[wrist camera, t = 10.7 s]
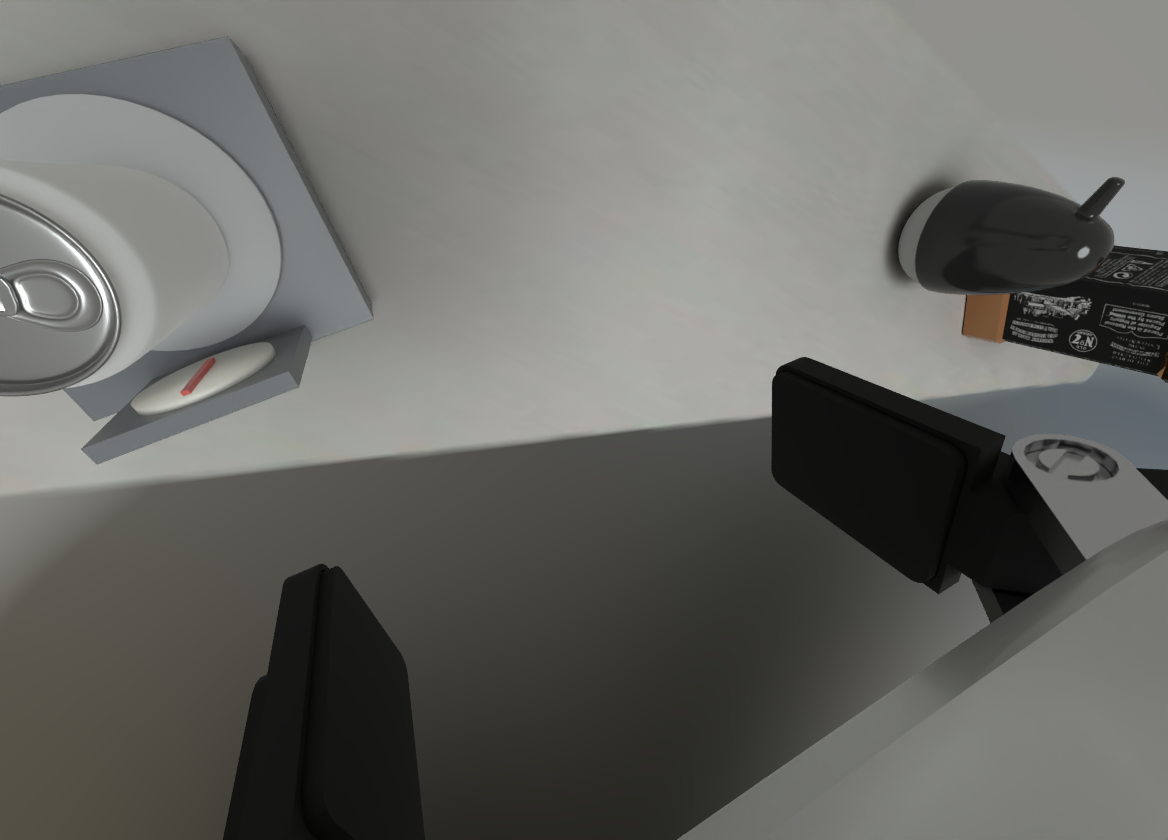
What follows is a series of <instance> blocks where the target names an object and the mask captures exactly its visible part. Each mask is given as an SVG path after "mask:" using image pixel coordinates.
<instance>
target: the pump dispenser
mask: <svg viewBox="0 0 1168 840" xmlns="http://www.w3.org/2000/svg"><path fill="white" fill-rule="evenodd" d="M1124 184H1125V181H1124V180H1123V179H1121V178H1118V177H1112V178H1109V179H1108V180H1107V181H1106V182H1105V183H1104V184H1103V185H1102V186H1101V187H1100V188H1099V189H1098V190H1097V191H1096V192H1095V193H1094V194H1093V195H1092V196H1091V197H1090V198H1089V199H1088V200H1087V201H1086V202H1085V203H1084V204H1083V205H1080V204H1078V203H1076V202H1074V201H1072V200H1070V199H1067V198H1065V197H1062V196H1060V195H1057V194H1054V193H1051V192H1048V191H1044V190H1041V189H1037V188H1033V187H1029V186H1024V185H1019V184H1013V183H1006V182H999V181H990V180H971V181H966V182H964V183H961V184H959V185H958V186H954V187H950V188H947V189H945V190H942V191H940V192H938V193H936V194H934V195H932V196H931V197H929V198H928V199H926V200H925V201H924V202H923V203H922V204H920V205H919V206H918V207H917V208H916V210H915V211H914V212H913V213H912V215H911V216H910V217H909V219H908V221H907V222H906V224H905V226H904V228H903V231H902V233H901V237H900V241H899V249H898V254H899V260H900V263H901V266H902V268H903V270H904V271H905V273H906V274H907V275H908V276H909V277H910V278H911V279H913V280H914V281H916V282H918V283H919V284H921V285H922V286H923V287H924V288H925V289H927V290H929V291H933V292H938V293H945V294H958V295H1003V294H1014V293H1022V292H1030V291H1036V290H1042V289H1048V288H1053V287H1057V286H1061V285H1065V284H1068V283H1072V282H1075V281H1078V280H1080V279H1083V278H1085V277H1087V276H1088V275H1090V274H1092V273H1093V272H1094V271H1096V270H1097V269H1098V268H1099V267H1101V266H1102V265H1103V264H1104V262H1105V261H1106V260H1107V259H1108V257H1109V256H1110V254H1111V252H1112V249H1113V246H1114V233H1113V230H1112V228H1111V227H1110V225H1109V224H1108V223H1107V222H1106V221H1105V220H1104V219H1102V218H1101V217H1100V216H1099V215H1100V214H1101V212H1102V211H1103V210H1104V209H1105V207H1106V206H1107V205H1108V204H1109V202H1110V201H1111V200H1112V199H1113V198H1114V196H1115V195H1116V194H1117V193H1118V191H1119V190H1120V189H1121V188H1122V186H1123V185H1124Z"/></svg>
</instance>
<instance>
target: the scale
mask: <svg viewBox="0 0 1168 840" xmlns="http://www.w3.org/2000/svg"><path fill="white" fill-rule="evenodd" d="M0 160H8V161H30V162H51V163H70V164H88V165H105V166H117V167H125V168H131V169H136V170H140V171H144V172H147V173H150V174H153V175H156V176H158V177H160V178H163V179H165V180H167V181H169V182H171V183H173V184H174V185H176V186H178V187H179V188H181V189H182V190H184V191H185V192H187V193H188V194H189V195H191V196H192V197H193V198H194V199H196V200H197V201H198V202H199V203H200V204H201V205H202V206H203V207H204V208H205V209H206V210H207V212H208V213H209V214H210V215H211V217H212V218H213V219H214V221H215V222H216V224H217V226H218V228H219V230H220V232H221V234H222V236H223V238H224V241H225V244H226V247H227V251H228V257H229V269H228V273H227V276H226V279H225V281H224V283H223V285H222V287H221V289H220V290H219V291H218V293H217V294H216V295H215V296H214V297H213V298H212V299H211V300H210V301H209V302H208V303H207V304H206V305H204V306H203V307H202V308H201V309H200V310H199V311H197V312H196V313H195V314H194V315H193V316H191V317H190V318H189V319H188V320H187V321H185V322H184V323H183V324H182V325H181V326H179V327H178V328H177V329H176V330H174V331H173V332H172V333H171V334H170V335H168V336H167V337H166V338H165V339H163V340H162V341H161V342H160V343H158V344H157V345H156V346H155V347H154V348H152V349H151V350H150V351H149V352H147V353H146V354H145V355H143V356H142V357H141V358H140V359H138V360H137V361H136V362H134V363H133V364H131V365H130V366H128V367H127V368H125V369H124V370H122V371H120V372H118V373H116V374H114V375H112V376H110V377H108V378H106V379H103V380H100V381H98V382H94V383H91V384H87V385H83V386H78V387H72V388H64V389H63V390H64V391H65V392H66V393H67V394H68V395H69V396H70V397H71V398H72V399H73V400H74V401H75V402H76V403H77V404H78V405H79V406H80V407H81V408H82V409H83V411H84V412H85V413H86V414H87V415H88V416H89V417H90V418H91V419H92V420H93V421H96V420H99V419H101V418H104V417H107V416H110V415H112V414H115V413H117V414H116V415H115V416H114V417H113V418H112V419H111V420H110V421H109V422H108V423H107V424H106V425H105V426H104V427H103V428H102V429H101V430H100V431H99V432H98V433H97V434H96V435H95V436H94V437H93V438H92V439H91V440H90V441H89V442H88V443H87V444H86V445H85V446H84V447H83V448H82V449H81V450H82V451H83V452H84V453H85V454H86V455H88V456H89V457H90V458H91V459H92V460H93V461H94V462H95V463H96V464H100V463H103V462H105V461H108V460H110V459H113V458H116V457H118V456H121V455H123V454H126V453H129V452H131V451H134V450H136V449H139V448H142V447H144V446H147V445H149V444H152V443H155V442H157V441H160V440H162V439H165V438H168V437H170V436H173V435H175V434H178V433H181V432H183V431H186V430H188V429H191V428H194V427H196V426H199V425H201V424H204V423H207V422H209V421H212V420H214V419H217V418H220V417H222V416H225V415H227V414H230V413H233V412H235V411H238V410H240V409H243V408H246V407H248V406H251V405H253V404H256V403H259V402H261V401H264V400H266V399H269V398H272V397H274V396H277V395H279V394H282V393H285V392H287V391H290V390H292V389H295V388H298V387H299V385H300V381H301V378H302V374H303V370H304V367H305V363H306V359H307V356H308V352H309V348H310V345H311V342H312V341H315V340H317V339H320V338H323V337H325V336H328V335H331V334H334V333H336V332H339V331H342V330H345V329H347V328H350V327H353V326H356V325H358V324H361V323H364V322H366V321H369V320H372V319H374V318H373V310H372V304H371V302H370V300H369V298H368V296H367V294H366V292H365V290H364V288H363V286H362V284H361V282H360V280H359V278H358V276H357V275H356V273H355V271H354V269H353V267H352V265H351V263H350V261H349V259H348V257H347V255H346V253H345V251H344V249H343V247H342V245H341V243H340V241H339V239H338V237H337V235H336V233H335V231H334V229H333V227H332V225H331V223H330V221H329V219H328V217H327V216H326V214H325V212H324V210H323V208H322V206H321V204H320V202H319V200H318V198H317V196H316V194H315V192H314V190H313V188H312V186H311V184H310V182H309V180H308V178H307V176H306V174H305V172H304V170H303V168H302V166H301V164H300V162H299V160H298V158H297V156H296V155H295V153H294V151H293V149H292V147H291V145H290V143H289V141H288V139H287V137H286V135H285V133H284V131H283V129H282V127H281V125H280V123H279V121H278V119H277V117H276V115H275V113H274V111H273V109H272V107H271V105H270V103H269V101H268V99H267V97H266V96H265V94H264V92H263V90H262V88H261V86H260V84H259V82H258V80H257V78H256V76H255V74H254V72H253V70H252V68H251V66H250V64H249V62H248V60H247V58H246V56H245V55H244V54H243V53H242V51H241V50H240V49H239V48H238V47H237V46H236V45H235V44H234V42H233V41H232V40H231V39H230V38H229V37H223V38H218V39H214V40H209V41H205V42H200V43H195V44H191V45H186V46H182V47H177V48H172V49H168V50H163V51H159V52H154V53H149V54H145V55H140V56H136V57H131V58H126V59H122V60H117V61H113V62H108V63H103V64H99V65H94V66H90V67H85V68H80V69H76V70H71V71H67V72H62V73H57V74H53V75H48V76H44V77H39V78H34V79H30V80H25V81H21V82H16V83H11V84H7V85H2V86H0Z"/></svg>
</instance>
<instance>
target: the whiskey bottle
mask: <svg viewBox="0 0 1168 840" xmlns="http://www.w3.org/2000/svg"><path fill="white" fill-rule="evenodd" d="M963 335H965V336H967V337H971V338H976V339H981V340H985V341H990V342H995V343H1002V342H1005V341H1008V342H1012V343H1016V344H1021V345H1025V346H1029V347H1034V348H1038V349H1043V350H1047V351H1051V352H1056V353H1060V354H1064V355H1069V356H1073V357H1077V358H1082V359H1086V360H1090V361H1095V362H1099V363H1103V364H1108V365H1112V366H1117V367H1121V368H1126V369H1129V370H1134V371H1138V372H1142V373H1147V374H1151V375H1156V376H1159V377H1160V378H1161V379H1162V380H1163V381H1164V382H1165V383H1168V252H1167V251H1158V250H1148V249H1139V248H1130V247H1121V246H1113V249H1112V252H1111V254H1110V256H1109V257H1108V259H1107V260H1106V261H1105V262H1104V264H1103V265H1102V266H1101V267H1099V268H1098V269H1097V270H1096V271H1094V272H1093V273H1092V274H1090V275H1088V276H1087V277H1085V278H1083V279H1080V280H1078V281H1075V282H1072V283H1068V284H1065V285H1061V286H1057V287H1053V288H1048V289H1042V290H1036V291H1030V292H1022V293H1014V294H1003V295H967V303H966V311H965V319H964V327H963Z"/></svg>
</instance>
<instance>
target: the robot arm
mask: <svg viewBox="0 0 1168 840" xmlns="http://www.w3.org/2000/svg"><path fill="white" fill-rule="evenodd" d="M1004 439H1005V435H1002V434H1000V433H997V432H994V431H992V430H990V429H987V428H984V427H982V426H979V425H977V424H974V423H972V422H969V421H967V420H964V419H962V418H959V417H957V416H954V415H952V414H949V413H946V412H944V411H941V410H939V409H936V408H934V407H931V406H929V405H926V404H924V403H921V402H919V401H916V400H914V399H911V398H909V397H906V396H904V395H901V394H899V393H896V392H894V391H891V390H889V389H886V388H884V387H881V386H878V385H876V384H873V383H871V382H868V381H866V380H863V379H861V378H858V377H856V376H853V375H851V374H848V373H846V372H843V371H841V370H838V369H836V368H833V367H831V366H828V365H825V364H823V363H820V362H818V361H815V360H813V359H810V358H807V357H802V358H799V359H796V360H794V361H792V362H789V363H787V364H785V365H782V366H781V367H779V368H778V370H777V371H776V376H775V377H774V378H773V381H772V474H773V477H774V478H775V480H776V482H777V483H778V484H779V485H781V486H782V487H783V488H785V489H786V490H787V491H789V492H790V493H791V494H793V495H794V496H796V497H797V498H799V499H800V500H801V501H803V502H804V503H805V504H807V505H808V506H809V507H811V508H812V509H814V510H815V511H816V512H818V513H819V514H821V515H822V516H823V517H825V518H826V519H828V520H829V521H830V522H832V523H833V524H834V525H836V526H837V527H839V528H840V529H841V530H843V531H844V532H846V533H847V534H848V535H850V536H851V537H852V538H854V539H855V540H856V541H858V542H859V543H861V544H862V545H863V546H865V547H866V548H868V549H869V550H870V551H872V552H873V553H875V554H876V555H877V556H879V557H880V558H881V559H883V560H884V561H885V562H887V563H888V564H890V565H891V566H892V567H894V568H895V569H897V570H898V571H899V572H901V573H902V574H903V575H905V576H906V577H908V578H909V579H911V580H912V581H915V582H918V583H924V584H925V585H926V586H928V587H929V588H931V589H932V590H933V591H935V592H936V593H938V594H940V593H941V592H943V591H944V590H946V589H947V588H949V587H951V586H952V585H953V584H955V583H957V582H958V581H959V578H960V575H961V573H963V574H964V575H966V576H967V577H969V578H970V579H972V583H973V585H974V587H975V590H976V592H977V594H978V596H979V599H980V601H981V603H982V605H983V608H984V610H985V612H986V615H987V617H988V619H989V621H990V624H989V625H988V626H986V627H985V628H983V629H982V630H980V631H979V632H977V633H976V634H975V635H973V636H972V637H970V638H969V639H967V640H966V641H964V642H963V643H961V644H960V645H958V646H957V647H956V648H954V649H952V650H951V651H950V652H948V653H947V654H945V655H944V656H942V657H941V658H939V659H938V660H936V661H935V662H933V663H932V664H931V665H929V666H928V667H926V668H925V669H923V670H922V671H920V672H919V673H918V674H916V675H915V676H913V677H912V678H910V679H909V680H907V681H906V682H904V683H903V684H901V685H900V686H899V687H897V688H896V689H894V690H893V691H891V692H890V693H888V694H887V695H885V696H884V697H882V698H881V699H880V700H878V701H877V702H875V703H874V704H873V705H871V706H869V707H868V708H867V709H865V710H864V711H862V712H861V713H859V714H858V715H856V716H855V717H854V718H852V719H851V720H849V721H848V722H846V723H845V724H844V725H842V726H840V727H839V728H837V729H836V730H835V731H833V732H832V733H830V734H829V735H827V736H826V737H824V738H823V739H822V740H820V741H819V742H817V743H816V744H814V745H813V746H812V747H810V748H809V749H807V750H806V751H804V752H803V753H801V754H800V755H799V756H797V757H796V758H794V759H793V760H791V761H790V762H788V763H787V764H785V765H784V766H782V767H781V768H780V769H778V770H777V771H775V772H774V773H772V774H771V775H769V776H768V777H767V778H765V779H764V780H762V781H761V782H759V783H758V784H756V785H755V786H754V787H752V788H751V789H749V790H748V791H746V792H745V793H744V794H742V795H741V796H739V797H738V798H736V799H735V800H734V801H732V802H731V803H729V804H728V805H726V806H725V807H724V808H722V809H721V810H719V811H718V812H716V813H715V814H713V815H712V816H711V817H709V818H708V819H706V820H705V821H703V822H702V823H701V824H699V825H698V826H696V827H695V828H693V829H692V830H691V831H689V832H688V833H686V834H685V835H683V836H682V837H680V838H679V839H678V840H1168V470H1159V469H1141V468H1135V467H1134V466H1133V465H1132V464H1131V463H1130V462H1129V461H1128V460H1127V459H1126V458H1124V457H1123V456H1122V455H1120V454H1119V453H1118V452H1116V451H1114V450H1112V449H1110V448H1108V447H1106V446H1104V445H1102V444H1099V443H1096V442H1093V441H1090V440H1087V439H1084V438H1079V437H1073V436H1068V435H1057V434H1039V435H1031V436H1028V437H1025V438H1021V439H1020V440H1019V441H1017V442H1016V443H1015V444H1014V446H1013V449H1012V452H1011V455H1008V454H1006V453H1003V452H1001V448H1002V445H1003V442H1004ZM223 840H425V834H424V825H423V815H422V806H421V796H420V787H419V777H418V769H417V759H416V749H415V740H414V730H413V720H412V711H411V701H410V692H409V682H408V673H407V669H406V664H405V662H404V659H403V657H402V655H401V653H400V652H399V650H398V649H397V647H396V646H395V644H394V643H393V642H392V640H391V639H390V637H389V636H388V635H387V633H386V632H385V630H384V629H383V627H382V626H381V624H380V623H379V622H378V620H377V619H376V617H375V616H374V614H373V613H372V612H371V610H370V609H369V607H368V606H367V604H366V603H365V602H364V600H363V599H362V597H361V596H360V594H359V593H358V592H357V590H356V589H355V587H354V586H353V585H352V583H351V582H350V580H349V579H348V577H347V576H346V574H345V573H344V572H343V570H342V569H341V568H340V567H338V566H335V567H333V568H331V569H329V568H328V567H327V566H326V565H324V564H319V565H316V566H314V567H312V568H309V569H307V570H305V571H303V572H300V573H298V574H295V575H293V576H291V577H288V578H287V579H286V580H285V581H284V584H283V589H282V594H281V600H280V605H279V611H278V617H277V622H276V628H275V633H274V639H273V645H272V650H271V656H270V661H269V667H268V673H267V675H265V676H263V677H261V678H260V679H259V680H258V682H257V683H256V684H255V687H254V690H253V693H252V697H251V702H250V707H249V712H248V717H247V722H246V727H245V732H244V737H243V742H242V747H241V752H240V757H239V762H238V767H237V772H236V777H235V782H234V787H233V792H232V797H231V802H230V807H229V812H228V817H227V822H226V827H225V832H224V837H223Z"/></svg>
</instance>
